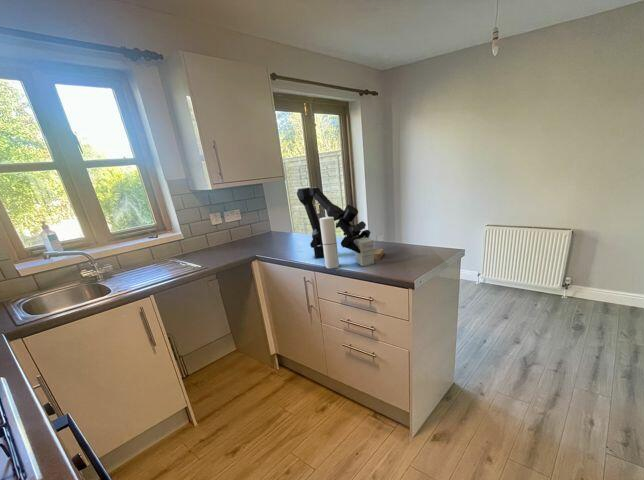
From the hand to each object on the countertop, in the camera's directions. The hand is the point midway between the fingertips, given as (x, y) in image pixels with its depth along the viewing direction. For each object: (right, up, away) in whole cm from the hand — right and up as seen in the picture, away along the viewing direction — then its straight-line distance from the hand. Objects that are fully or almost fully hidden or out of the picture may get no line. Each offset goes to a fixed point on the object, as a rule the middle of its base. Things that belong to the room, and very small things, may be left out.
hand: (365, 250), depth 159 cm
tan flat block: (+4, -1, +14) cm, 15 cm away
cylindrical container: (-17, -8, +4) cm, 20 cm away
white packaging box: (0, -6, +4) cm, 7 cm away
